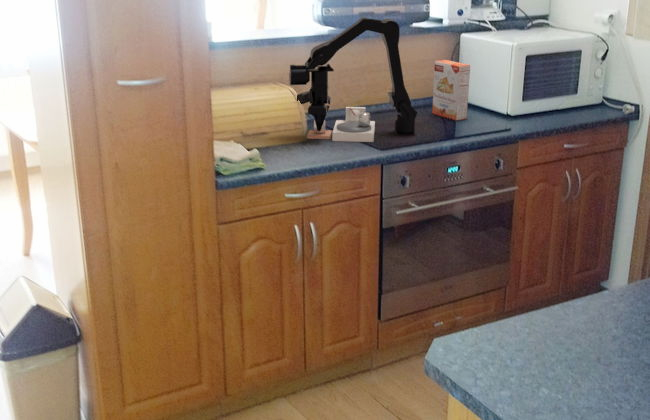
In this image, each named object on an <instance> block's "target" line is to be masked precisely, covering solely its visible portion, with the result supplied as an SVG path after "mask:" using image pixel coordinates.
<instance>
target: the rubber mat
mask: <svg viewBox="0 0 650 420" xmlns="http://www.w3.org/2000/svg"><path fill="white" fill-rule="evenodd" d="M307 132H308V133H307V134H306V139H310V140H311V139H313V140H314V139H316V140H318V139H319V140H323V139H324V140H331V138H332V132H333V130H330V129H328V130H327V129H325V134H314V129H309V130H308V131H307Z"/></svg>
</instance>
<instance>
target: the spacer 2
mask: <svg viewBox="0 0 650 420" xmlns="http://www.w3.org/2000/svg"><path fill="white" fill-rule="evenodd" d="M370 121H371V113H370V112H360V113H359V117H358V127H362V128H367V127H370Z"/></svg>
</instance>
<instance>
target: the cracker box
mask: <svg viewBox="0 0 650 420" xmlns="http://www.w3.org/2000/svg"><path fill="white" fill-rule="evenodd" d="M470 71H471V65H470V64H467V63H462V62H457V61H453V60H449V59H448V60H447V59H439V60H435V61H434V70H433V89H432V90H433V93H432V94H433V95H432V109H431V110H432V112H431V113H432V114H433V115H437V116H440V117H443V118H445V117H446V118H445V119H448V118H449V120H451V119H452V121H454V120H455V122H458V121H462V120H467V117H468V102H469V89H470V88H469V87H470V75H471V74H470V73H471V72H470ZM457 120H458V121H457Z"/></svg>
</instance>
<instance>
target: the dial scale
mask: <svg viewBox="0 0 650 420" xmlns="http://www.w3.org/2000/svg"><path fill="white" fill-rule="evenodd" d="M366 109H367V108H366V107H365V106H346V107H345V120H342V119H336V120H335V124H334V127H333V130H332V135H331V138H332V139H331V141H332V142H354V143H374V141H375V132H376V121H375V120H370V127H367V128H362V127H358V117H359V113H360V112H366Z"/></svg>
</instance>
